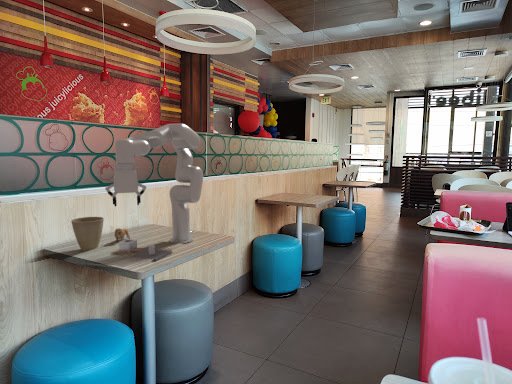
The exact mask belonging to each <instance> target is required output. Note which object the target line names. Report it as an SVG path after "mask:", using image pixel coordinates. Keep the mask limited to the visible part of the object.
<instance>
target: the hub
mask: <svg viewBox="0 0 512 384" xmlns="http://www.w3.org/2000/svg"><path fill="white" fill-rule="evenodd" d="M147 247H148V248H146V249H144V250H142V251H140V252H137V253H135V254H133V255H130V257H131V258H137V259H138V258H139V259H150V260H151V262H158V261H159V260H161V259H163V258H165V257H167V256H169V255H171V254H172V253H173V250H169V249H168V250H165V249H155V248H156V246H155V244H149V245H147Z"/></svg>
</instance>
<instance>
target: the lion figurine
mask: <svg viewBox="0 0 512 384" xmlns="http://www.w3.org/2000/svg"><path fill="white" fill-rule="evenodd" d="M125 235H126V239H131V236H130V234H129V230H128V229H127V228H123V229H122V228H119V227H118V228H116V229H115V230H114V238H115V240H116V242H117V243H119V240H120V241H123V240H125Z"/></svg>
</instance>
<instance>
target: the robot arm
mask: <svg viewBox="0 0 512 384" xmlns="http://www.w3.org/2000/svg"><path fill="white" fill-rule="evenodd" d="M169 142H171V145H172V147H173V148H174V150H175V153H176V156H177V159H176V160H177V162H176V168H175V174H174V177H175V178H174V179H175V180H176V182H177V183H180V184H177V185H176V184H175V185H173V186H172V187H171V188H170V190H169V199H170V203H171V218H172V219H171V222H172V223H171V225H172V237H170V238H169V241H170V243H171V244H173V243H174V244H188V243H191V242H192V241H193V240H194V238H193V237H192V236H191V235H192V234H193V231H192V230H191V228H190V226H191V223H190V208H189V205H188V204H196V203H198V202H199V201H200V198H201V196H202V190H203V189H202V188H203V181H204V172H203V170H202V169H201V167H199V166H195V165H193V162H194V157H193V154H192V152H191V151H190V150H195V149H196V150H197V149H199V147H200V146H201V137H200V135H198V133H196V132H195V131H194V130H193V129H192V128H191V127H189V126H188V125H186V124H185V123H182V122H181V123H179V122H178V123H166V124H165V125H163V126H160V127H158V128H155V129H153V130H149V131H146V132H141V133H139V134H135V135H132V136H130V137H128V138H125V139H117V140H115V143H114V149H115V169H116V170H114V173H113V183H112V184H110V185H107V186H105V191H106V192H107V194H108V195H109V196H111V198H112V205H114V207H116V206H117V195H118V194H125V193H126V194H127V193H128V194H129V193H133V194H134V193H135V194H136V203H137V206H140V204H141V202H142V201H141V200H142V199H141V196H142V195H143V194H144V193H145V191H146V189H147V186H146V185H144V184H142V183H140V182H139V181H138V175H137V173H138V172H137V170H135V169H137V168H138V167H139V166H138V164H135V158H134V157H144V156H146V155H148V154H149V153H150V151H151V149H154V148H160V147H162V146H164V145H167V144H168V143H169ZM184 184H185V185H184ZM187 184H189V185H187ZM139 187H141V188H142V189H141V190H140V192H139ZM112 188H113V190H114V192H112V191H111V190H110V189H112Z"/></svg>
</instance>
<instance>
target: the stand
mask: <svg viewBox="0 0 512 384" xmlns="http://www.w3.org/2000/svg"><path fill="white" fill-rule="evenodd" d="M146 249H147V248H145V247H137V250H135V251H133V252H131V253H126V252H119V249H117V250H114V251H112V252H111V254H114V255H115V254H116V255H125V256H133V255H135V254H137V253H139V252H141V251H144V250H146Z"/></svg>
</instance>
